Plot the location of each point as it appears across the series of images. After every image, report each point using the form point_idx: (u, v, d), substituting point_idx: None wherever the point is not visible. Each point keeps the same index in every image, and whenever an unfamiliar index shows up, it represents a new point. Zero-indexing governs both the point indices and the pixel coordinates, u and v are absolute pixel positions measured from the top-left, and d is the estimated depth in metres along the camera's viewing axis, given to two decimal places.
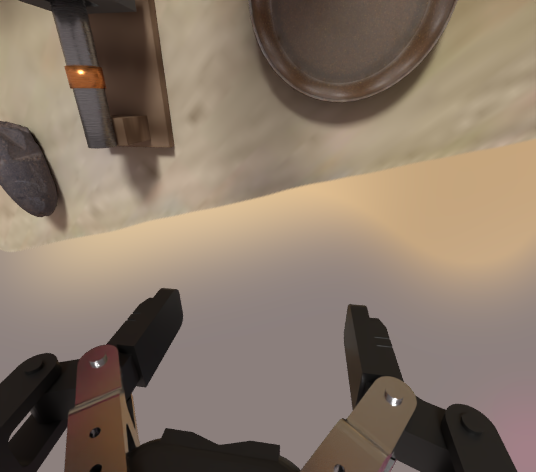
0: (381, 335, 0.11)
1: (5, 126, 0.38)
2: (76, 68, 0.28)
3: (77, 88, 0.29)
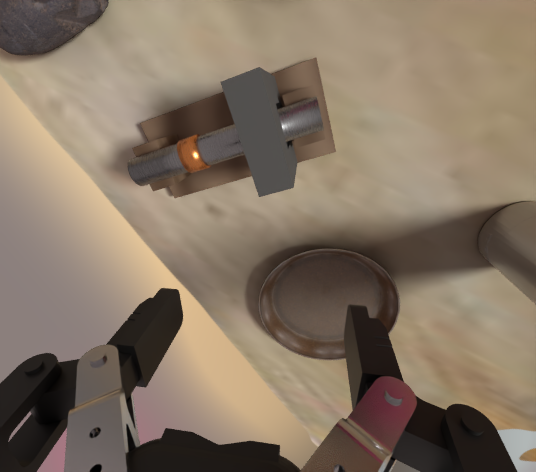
0: (381, 335, 0.11)
1: None
2: (197, 159, 0.28)
3: (180, 159, 0.28)
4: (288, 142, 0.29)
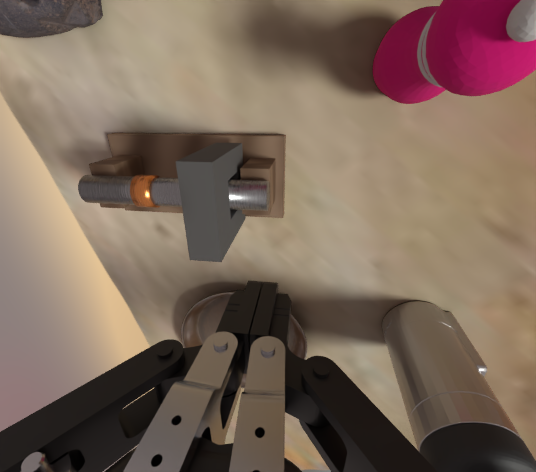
0: (284, 307, 0.13)
1: (84, 9, 0.27)
2: (147, 200, 0.29)
3: (130, 195, 0.29)
4: None
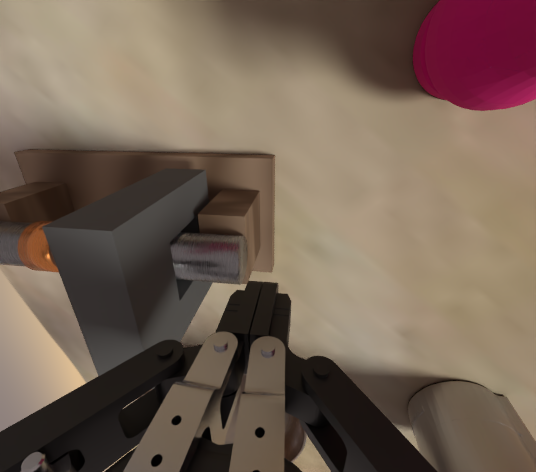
0: (283, 307, 0.13)
1: None
2: (47, 265, 0.18)
3: (19, 258, 0.18)
4: None
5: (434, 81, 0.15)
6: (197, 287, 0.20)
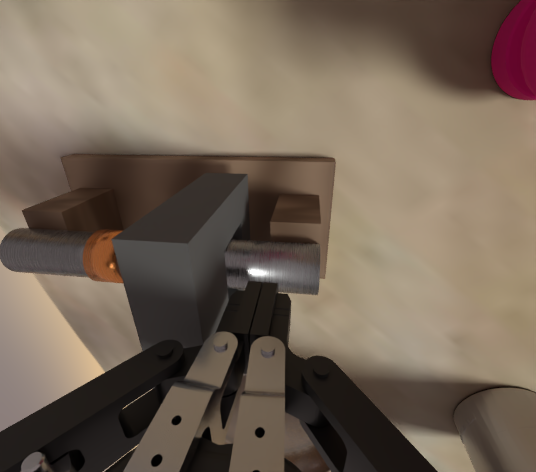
0: (283, 307, 0.13)
1: None
2: (113, 276, 0.17)
3: (84, 269, 0.17)
4: None
5: (531, 80, 0.14)
6: None
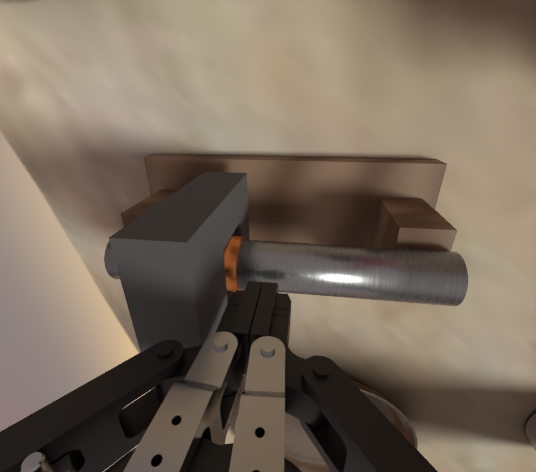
0: (283, 307, 0.13)
1: None
2: (231, 285, 0.16)
3: None
4: None
5: None
6: None
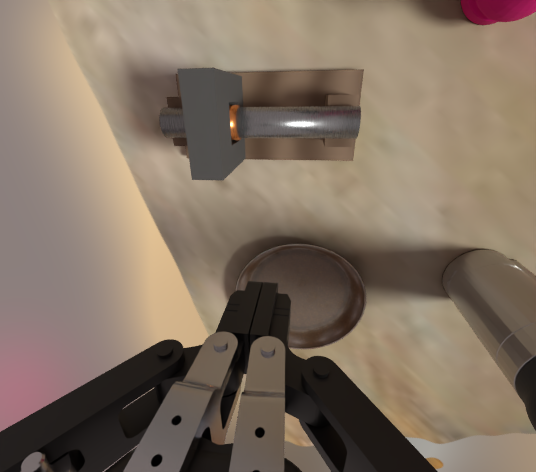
0: (284, 307, 0.13)
1: None
2: (233, 128, 0.28)
3: None
4: None
5: (479, 3, 0.26)
6: (238, 150, 0.32)
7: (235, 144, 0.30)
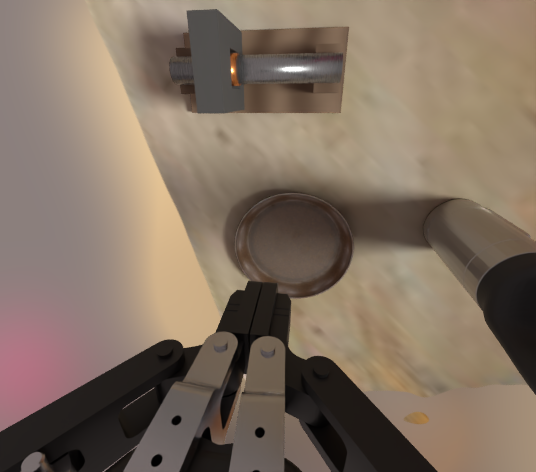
0: (284, 307, 0.13)
1: None
2: (233, 72, 0.33)
3: None
4: (238, 88, 0.37)
5: None
6: (237, 96, 0.36)
7: (235, 89, 0.35)
